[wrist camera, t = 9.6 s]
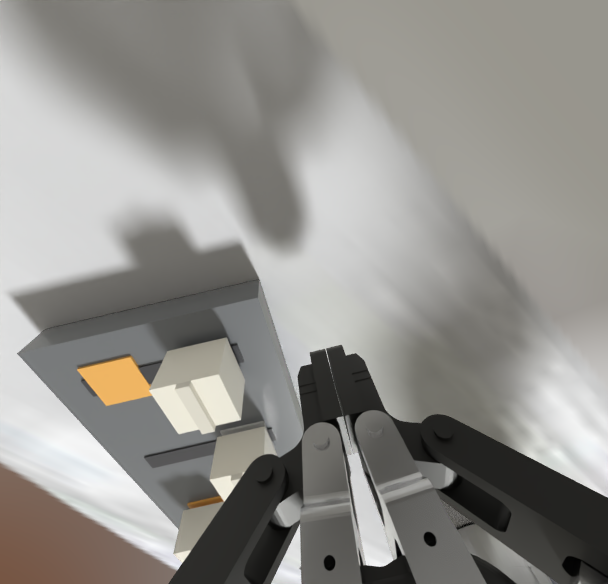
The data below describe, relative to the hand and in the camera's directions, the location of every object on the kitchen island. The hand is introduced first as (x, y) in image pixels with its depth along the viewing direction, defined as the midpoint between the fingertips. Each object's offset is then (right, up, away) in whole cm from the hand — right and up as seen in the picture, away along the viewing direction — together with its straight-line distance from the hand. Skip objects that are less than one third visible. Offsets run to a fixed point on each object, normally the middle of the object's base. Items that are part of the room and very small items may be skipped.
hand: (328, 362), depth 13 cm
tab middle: (-5, -7, +5) cm, 10 cm away
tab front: (-6, -1, +2) cm, 6 cm away
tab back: (-8, -14, +9) cm, 18 cm away
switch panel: (-7, -6, +7) cm, 12 cm away
